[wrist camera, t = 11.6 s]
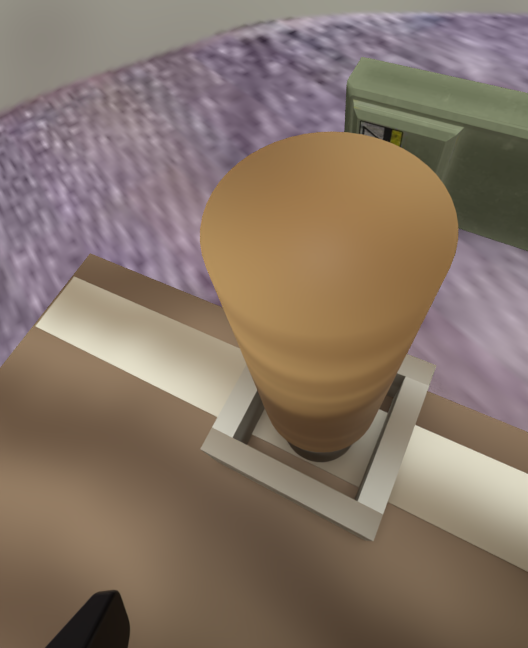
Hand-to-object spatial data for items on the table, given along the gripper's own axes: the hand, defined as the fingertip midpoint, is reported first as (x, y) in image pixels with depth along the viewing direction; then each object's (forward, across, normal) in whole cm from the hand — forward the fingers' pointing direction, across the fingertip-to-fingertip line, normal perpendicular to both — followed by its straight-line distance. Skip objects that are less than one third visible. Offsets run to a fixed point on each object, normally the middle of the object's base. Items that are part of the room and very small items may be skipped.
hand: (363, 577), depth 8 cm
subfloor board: (+8, +5, +5) cm, 10 cm away
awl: (+8, 0, +2) cm, 9 cm away
